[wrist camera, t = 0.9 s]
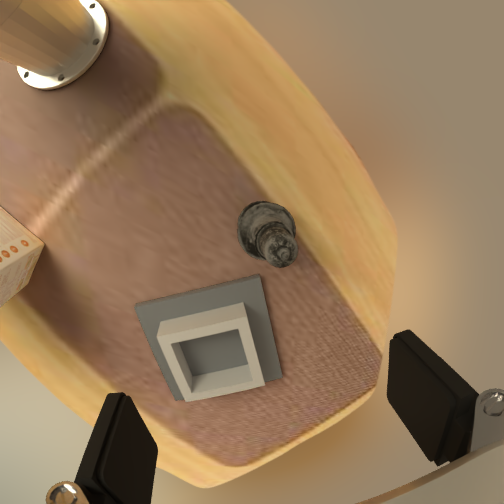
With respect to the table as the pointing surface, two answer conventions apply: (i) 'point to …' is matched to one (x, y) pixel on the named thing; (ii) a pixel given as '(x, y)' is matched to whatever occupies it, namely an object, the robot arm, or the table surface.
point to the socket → (212, 339)
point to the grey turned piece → (268, 233)
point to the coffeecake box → (16, 256)
